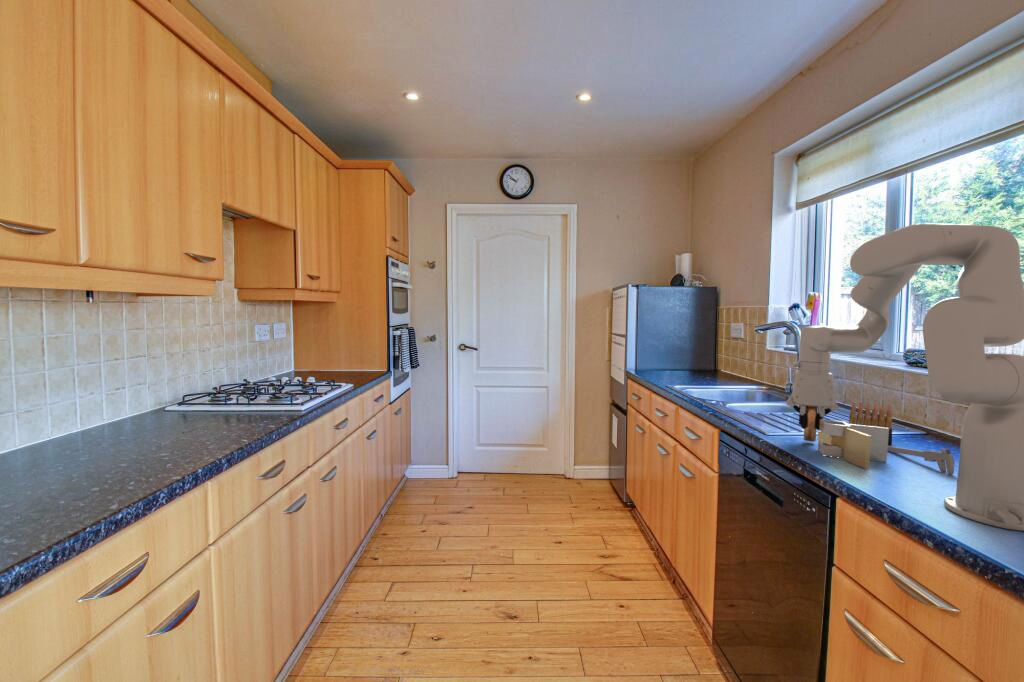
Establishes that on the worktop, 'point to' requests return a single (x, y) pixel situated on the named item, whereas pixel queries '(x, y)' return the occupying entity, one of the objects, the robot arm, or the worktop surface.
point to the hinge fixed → (839, 427)
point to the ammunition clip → (872, 418)
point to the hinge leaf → (851, 446)
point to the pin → (810, 423)
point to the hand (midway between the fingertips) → (810, 427)
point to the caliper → (931, 457)
